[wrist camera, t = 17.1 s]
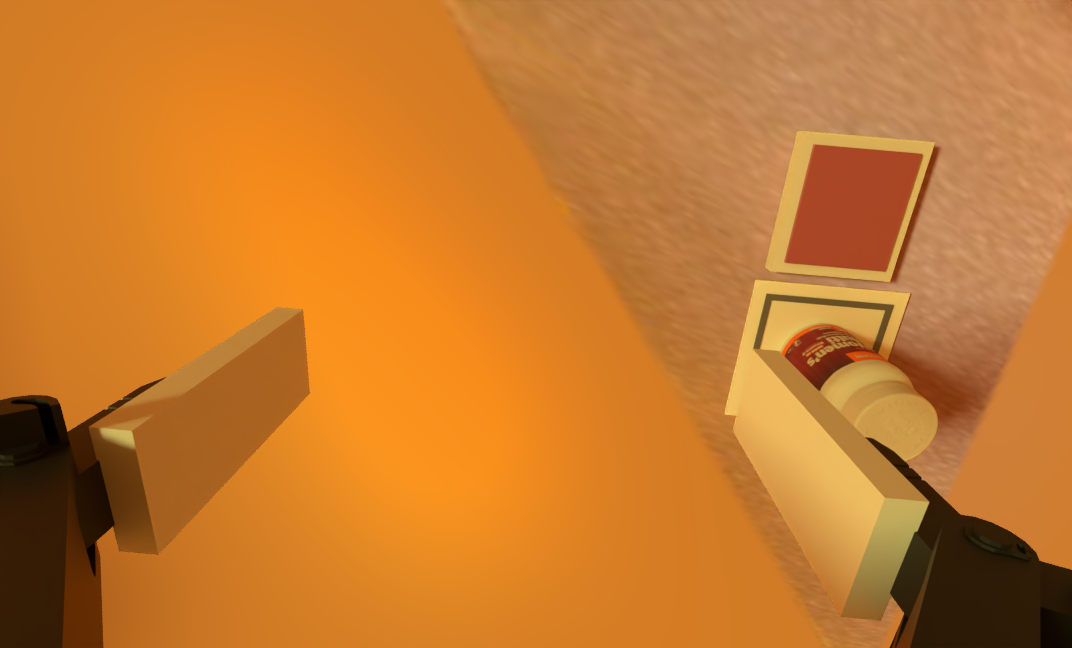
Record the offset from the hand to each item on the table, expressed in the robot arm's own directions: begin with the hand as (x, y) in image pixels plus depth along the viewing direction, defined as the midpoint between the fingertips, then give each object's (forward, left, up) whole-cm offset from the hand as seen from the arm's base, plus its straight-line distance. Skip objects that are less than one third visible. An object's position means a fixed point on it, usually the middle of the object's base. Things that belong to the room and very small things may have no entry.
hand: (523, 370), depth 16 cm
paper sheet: (+9, +23, -27) cm, 36 cm away
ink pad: (-3, +22, -27) cm, 35 cm away
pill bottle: (+9, +23, -27) cm, 36 cm away
